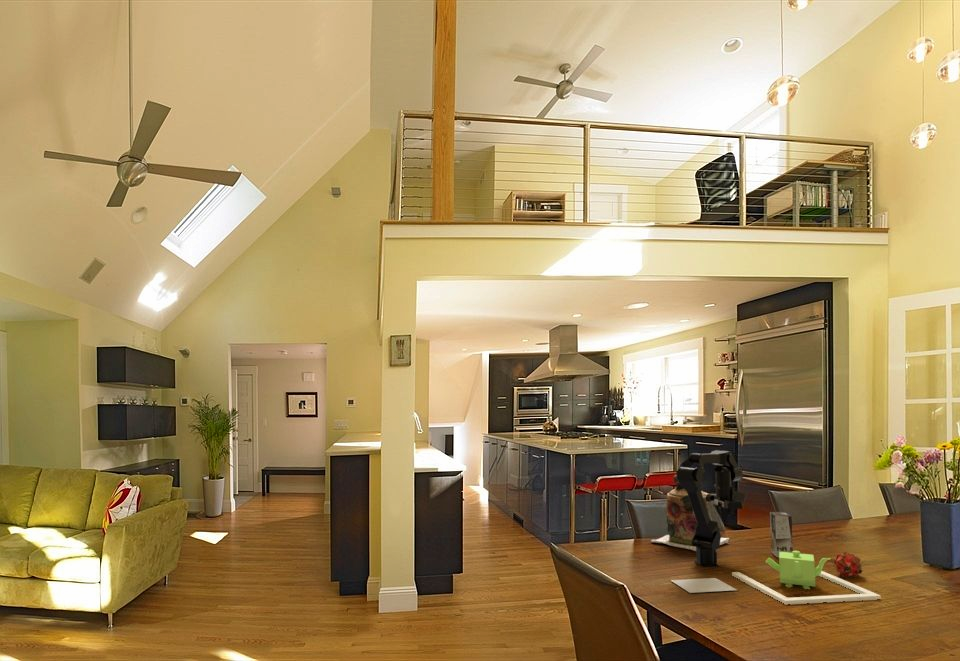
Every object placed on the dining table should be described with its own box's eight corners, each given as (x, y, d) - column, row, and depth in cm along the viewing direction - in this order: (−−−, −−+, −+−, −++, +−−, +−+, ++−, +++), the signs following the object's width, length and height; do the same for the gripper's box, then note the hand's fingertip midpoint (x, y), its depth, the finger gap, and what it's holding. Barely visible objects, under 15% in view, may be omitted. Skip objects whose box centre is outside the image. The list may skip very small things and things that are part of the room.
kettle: (832, 589, 219) (831, 554, 220) (800, 594, 214) (799, 559, 215) (795, 577, 233) (793, 544, 234) (764, 581, 228) (763, 548, 229)
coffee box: (793, 558, 258) (792, 516, 259) (776, 557, 259) (774, 515, 260) (787, 552, 267) (786, 511, 268) (770, 551, 268) (769, 511, 269)
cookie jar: (678, 534, 300) (676, 462, 303) (731, 543, 283) (728, 467, 285) (648, 543, 283) (647, 467, 286) (702, 553, 266) (700, 472, 268)
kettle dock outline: (785, 604, 204) (785, 600, 204) (732, 575, 235) (732, 572, 235) (880, 599, 209) (880, 595, 209) (816, 571, 240) (816, 568, 240)
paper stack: (754, 601, 208) (754, 599, 208) (679, 606, 204) (679, 603, 204) (715, 579, 231) (715, 577, 231) (647, 583, 227) (647, 581, 227)
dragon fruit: (851, 576, 240) (850, 589, 229) (829, 559, 243) (827, 572, 233) (866, 559, 237) (866, 572, 227) (844, 543, 240) (842, 555, 230)
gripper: (755, 486, 254) (756, 528, 252) (730, 479, 272) (731, 518, 271) (728, 486, 252) (729, 528, 251) (704, 479, 270) (705, 519, 269)
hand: (724, 523), depth 260 cm, fingers closed
